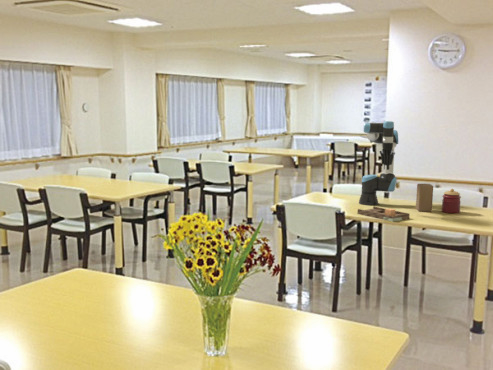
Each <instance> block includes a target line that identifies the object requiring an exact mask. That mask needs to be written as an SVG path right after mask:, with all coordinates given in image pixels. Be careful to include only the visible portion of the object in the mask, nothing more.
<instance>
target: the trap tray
mask: <svg viewBox="0 0 493 370" xmlns="http://www.w3.org/2000/svg"><path fill="white" fill-rule="evenodd" d="M385 209H386V208H385V207H384V208H383V207H378V206H372V208H368V209H361V208H357V215H361V216H365V217H371V218H374V219H379V220H384V221H389V222H391V223H393V222H399V221H403V220H408V219H410V213H408V212H404V211H399V210H395V216H389V215H385Z"/></svg>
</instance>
